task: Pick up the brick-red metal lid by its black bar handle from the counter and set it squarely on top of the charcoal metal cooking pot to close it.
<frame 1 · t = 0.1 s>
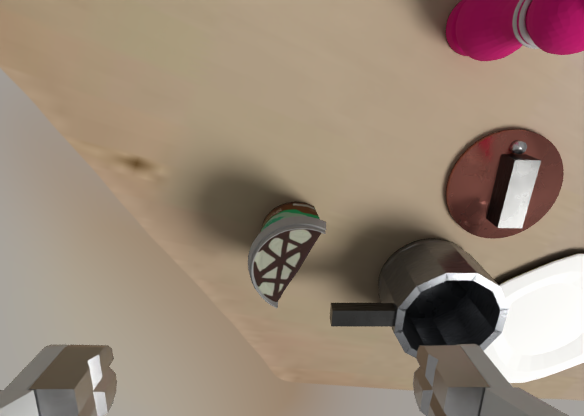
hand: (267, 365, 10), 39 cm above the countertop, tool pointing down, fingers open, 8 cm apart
plate: (541, 316, 59), on the countertop
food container: (277, 223, 51), on the countertop
lid: (500, 184, 50), on the countertop
pepper mill: (471, 26, 42), on the countertop
pot: (425, 280, 55), on the countertop
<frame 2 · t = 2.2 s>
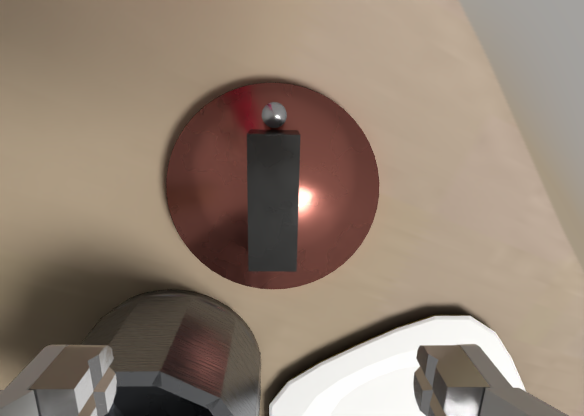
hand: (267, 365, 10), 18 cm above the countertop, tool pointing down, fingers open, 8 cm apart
lid: (274, 190, 27), on the countertop
pot: (177, 364, 31), on the countertop
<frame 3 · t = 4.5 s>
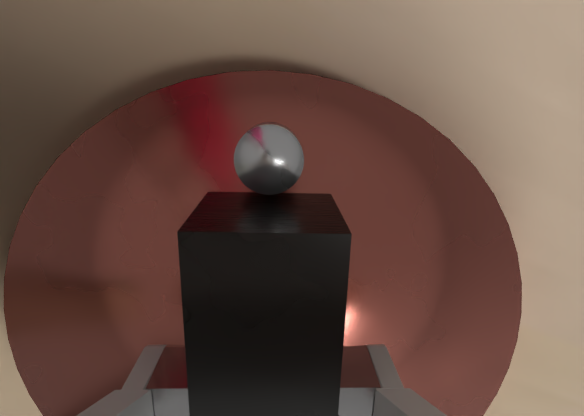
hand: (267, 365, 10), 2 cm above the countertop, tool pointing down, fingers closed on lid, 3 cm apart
lid: (269, 317, 12), on the countertop, touching gripper
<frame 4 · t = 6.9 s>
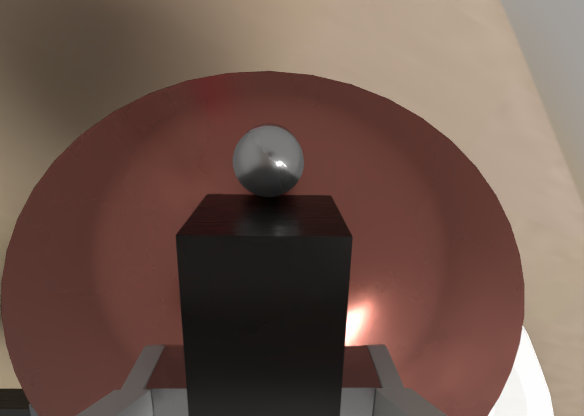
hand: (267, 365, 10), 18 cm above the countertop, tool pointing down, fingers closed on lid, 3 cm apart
plate: (414, 399, 34), on the countertop
lid: (270, 320, 12), point 16 cm above the countertop, touching gripper
pot: (189, 337, 31), on the countertop
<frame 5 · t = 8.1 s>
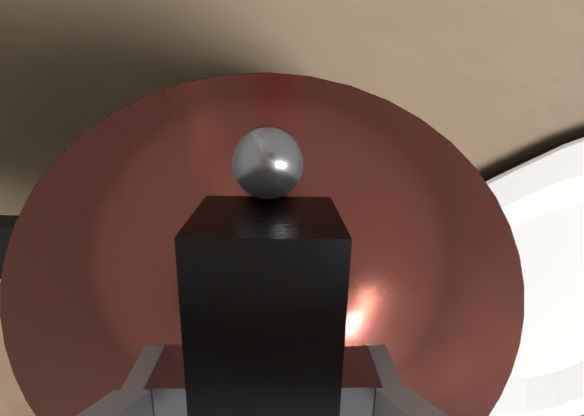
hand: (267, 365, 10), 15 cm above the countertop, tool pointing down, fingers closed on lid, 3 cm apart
plate: (541, 290, 28), on the countertop
lid: (269, 321, 12), point 13 cm above the countertop, touching gripper
pot: (275, 201, 25), on the countertop
when the fingers open (12 cm above the countertop, at t = 8.8 s): lid stays where it is, resting on pot.
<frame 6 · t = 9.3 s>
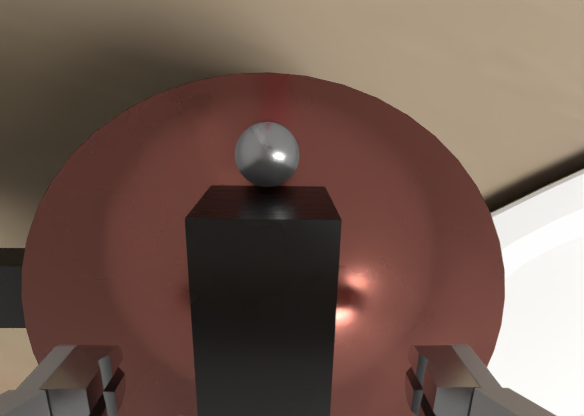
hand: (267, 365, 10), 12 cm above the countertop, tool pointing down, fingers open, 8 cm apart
plate: (574, 321, 25), on the countertop
lid: (269, 304, 13), point 9 cm above the countertop, touching pot
pot: (274, 221, 22), on the countertop
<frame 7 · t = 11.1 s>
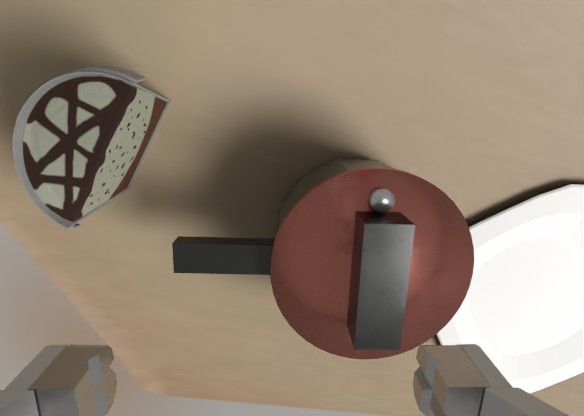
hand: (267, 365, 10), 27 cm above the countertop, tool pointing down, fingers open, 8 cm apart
plate: (527, 292, 40), on the countertop
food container: (119, 129, 34), on the countertop
lid: (368, 264, 28), point 9 cm above the countertop, touching pot
pot: (349, 228, 37), on the countertop
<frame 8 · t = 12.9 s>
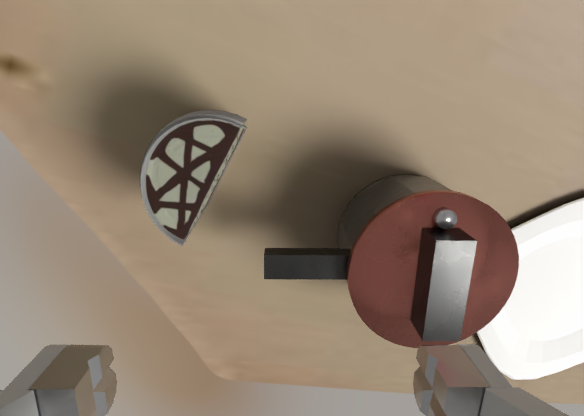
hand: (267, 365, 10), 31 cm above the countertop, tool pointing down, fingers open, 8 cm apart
plate: (552, 287, 46), on the countertop
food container: (201, 152, 39), on the countertop
lid: (428, 269, 34), point 9 cm above the countertop, touching pot
pot: (398, 234, 42), on the countertop
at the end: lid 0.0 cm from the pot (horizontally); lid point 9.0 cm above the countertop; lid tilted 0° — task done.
